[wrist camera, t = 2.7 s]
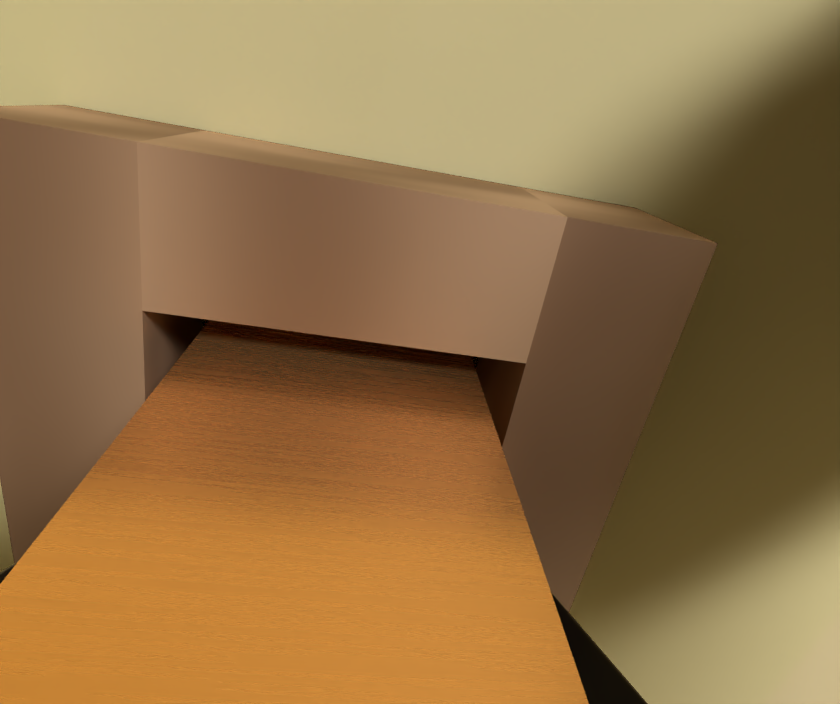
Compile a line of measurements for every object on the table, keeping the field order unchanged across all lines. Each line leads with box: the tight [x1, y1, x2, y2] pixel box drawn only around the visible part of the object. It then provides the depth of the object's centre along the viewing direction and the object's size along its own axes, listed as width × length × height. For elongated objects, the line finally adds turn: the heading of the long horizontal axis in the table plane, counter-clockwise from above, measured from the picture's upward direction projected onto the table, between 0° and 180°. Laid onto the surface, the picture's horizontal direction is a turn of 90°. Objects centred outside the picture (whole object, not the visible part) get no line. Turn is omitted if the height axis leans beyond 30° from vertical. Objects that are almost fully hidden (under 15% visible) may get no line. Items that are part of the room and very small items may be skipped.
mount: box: [0, 105, 718, 612], centre depth 9 cm, size 9×9×2 cm
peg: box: [0, 320, 589, 704], centre depth 6 cm, size 4×4×9 cm
